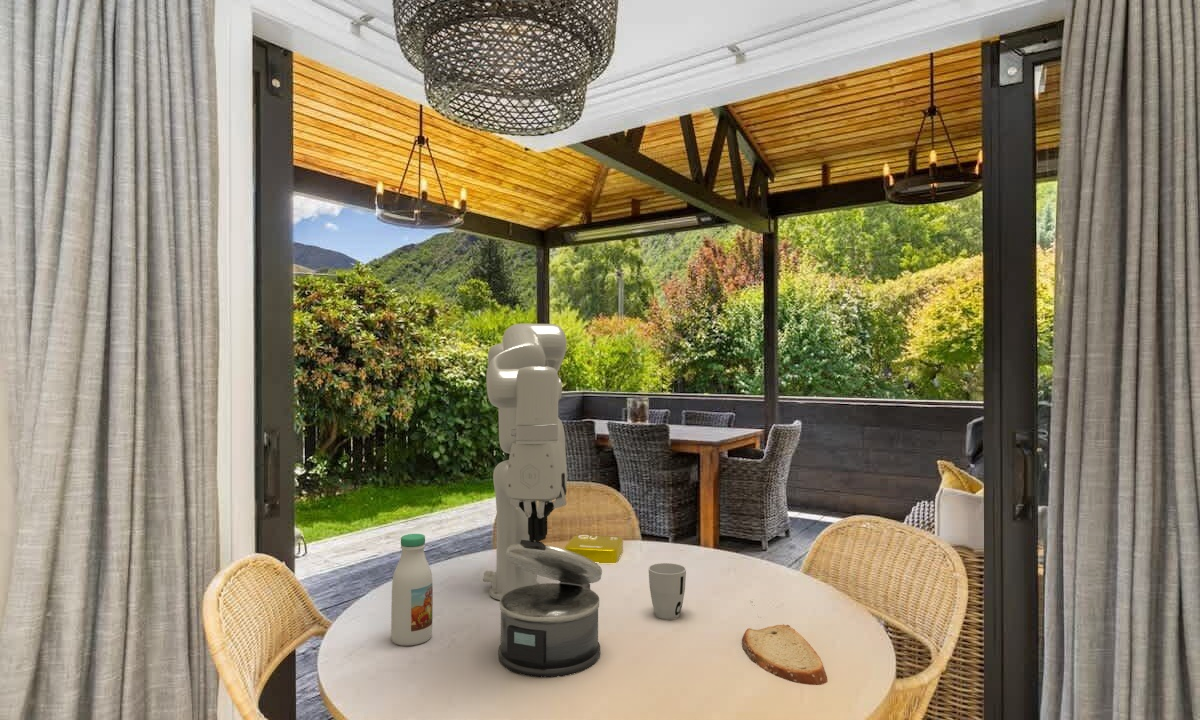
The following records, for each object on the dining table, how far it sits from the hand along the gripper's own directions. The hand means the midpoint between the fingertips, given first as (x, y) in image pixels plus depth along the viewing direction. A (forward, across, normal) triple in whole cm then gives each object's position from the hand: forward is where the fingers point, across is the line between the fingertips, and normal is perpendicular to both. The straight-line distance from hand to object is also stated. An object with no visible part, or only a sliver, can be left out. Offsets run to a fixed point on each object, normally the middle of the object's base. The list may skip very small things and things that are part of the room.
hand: (537, 539), depth 112 cm
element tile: (+18, -19, +72) cm, 76 cm away
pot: (+22, -2, +9) cm, 24 cm away
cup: (+21, +13, +35) cm, 43 cm away
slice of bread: (+23, +39, +24) cm, 51 cm away
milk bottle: (+21, -30, +4) cm, 37 cm away
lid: (+6, -1, +8) cm, 10 cm away
